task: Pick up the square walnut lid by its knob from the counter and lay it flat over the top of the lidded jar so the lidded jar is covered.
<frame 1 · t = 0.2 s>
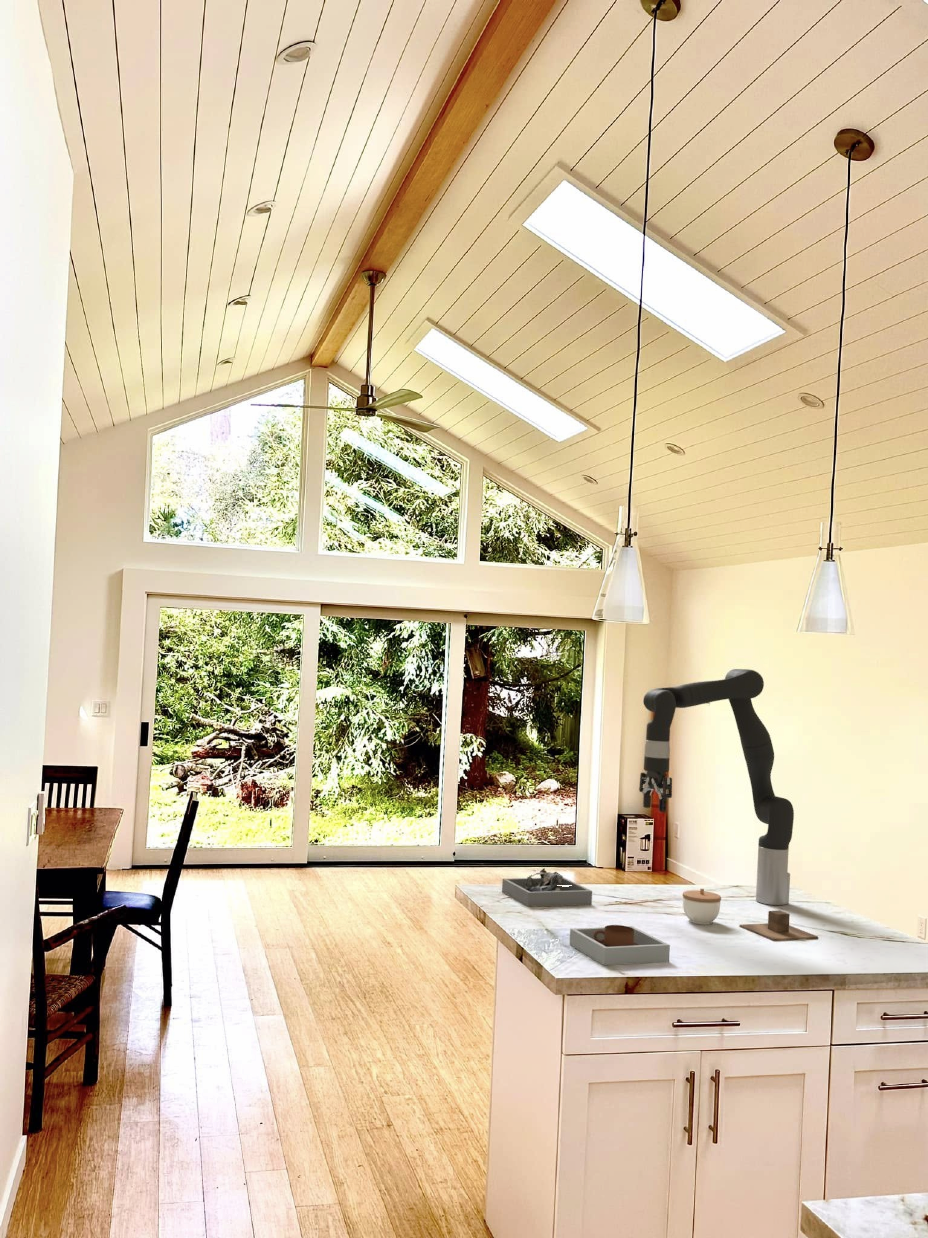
hand: (654, 809, 314), 29 cm above the worktop, tool pointing down, fingers open, 8 cm apart
foil frame: (546, 898, 316), on the worktop
grey square tray: (618, 953, 259), on the worktop
lidded jar: (700, 922, 297), on the worktop
walnut lid: (778, 935, 290), on the worktop
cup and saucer: (618, 954, 259), resting in grey square tray
foil: (544, 899, 316), resting in foil frame
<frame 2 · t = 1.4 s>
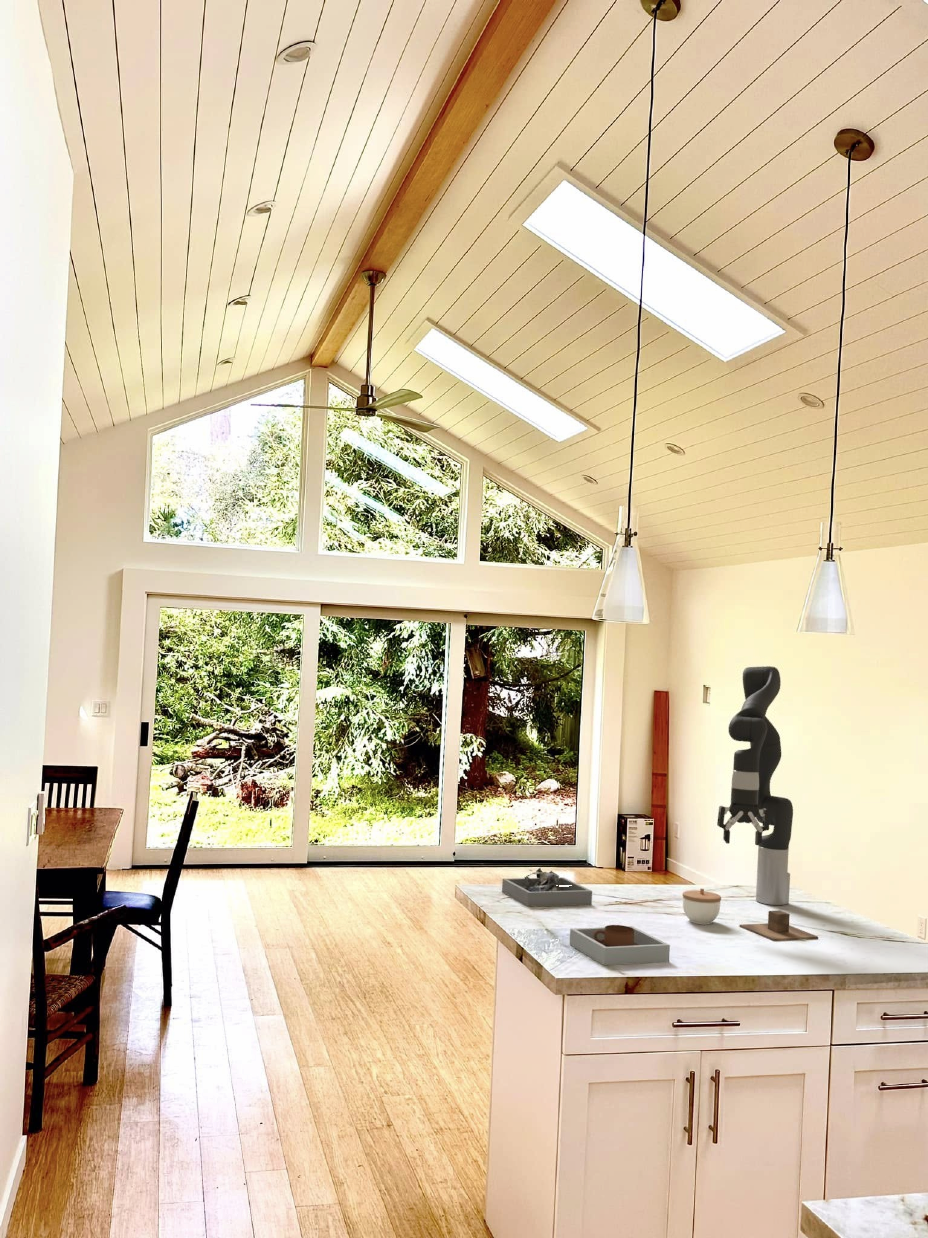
hand: (742, 844, 297), 23 cm above the worktop, tool pointing down, fingers open, 8 cm apart
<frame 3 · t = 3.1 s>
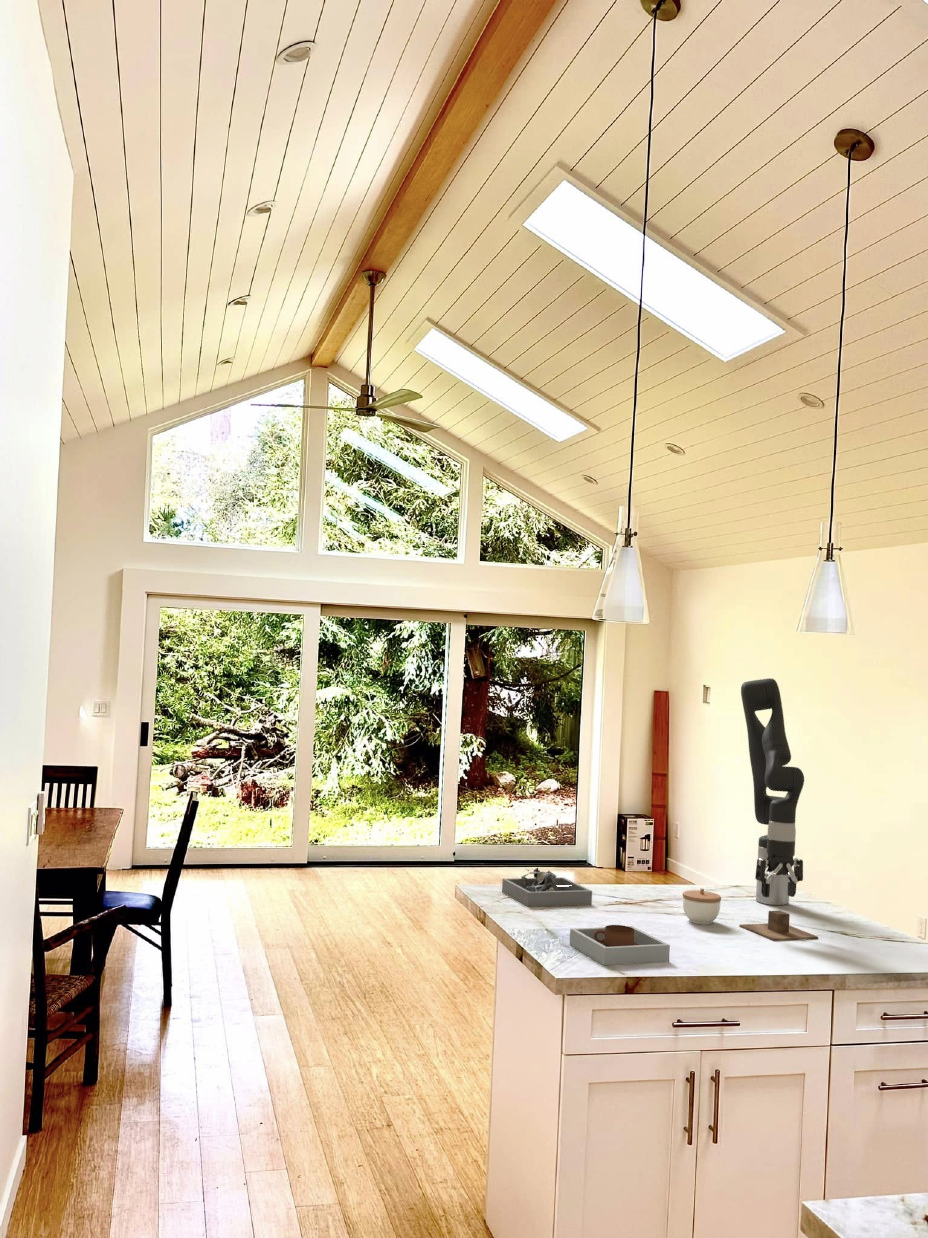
hand: (778, 896, 290), 10 cm above the worktop, tool pointing down, fingers open, 8 cm apart
foil: (538, 898, 317), resting in foil frame
everything else where it was.
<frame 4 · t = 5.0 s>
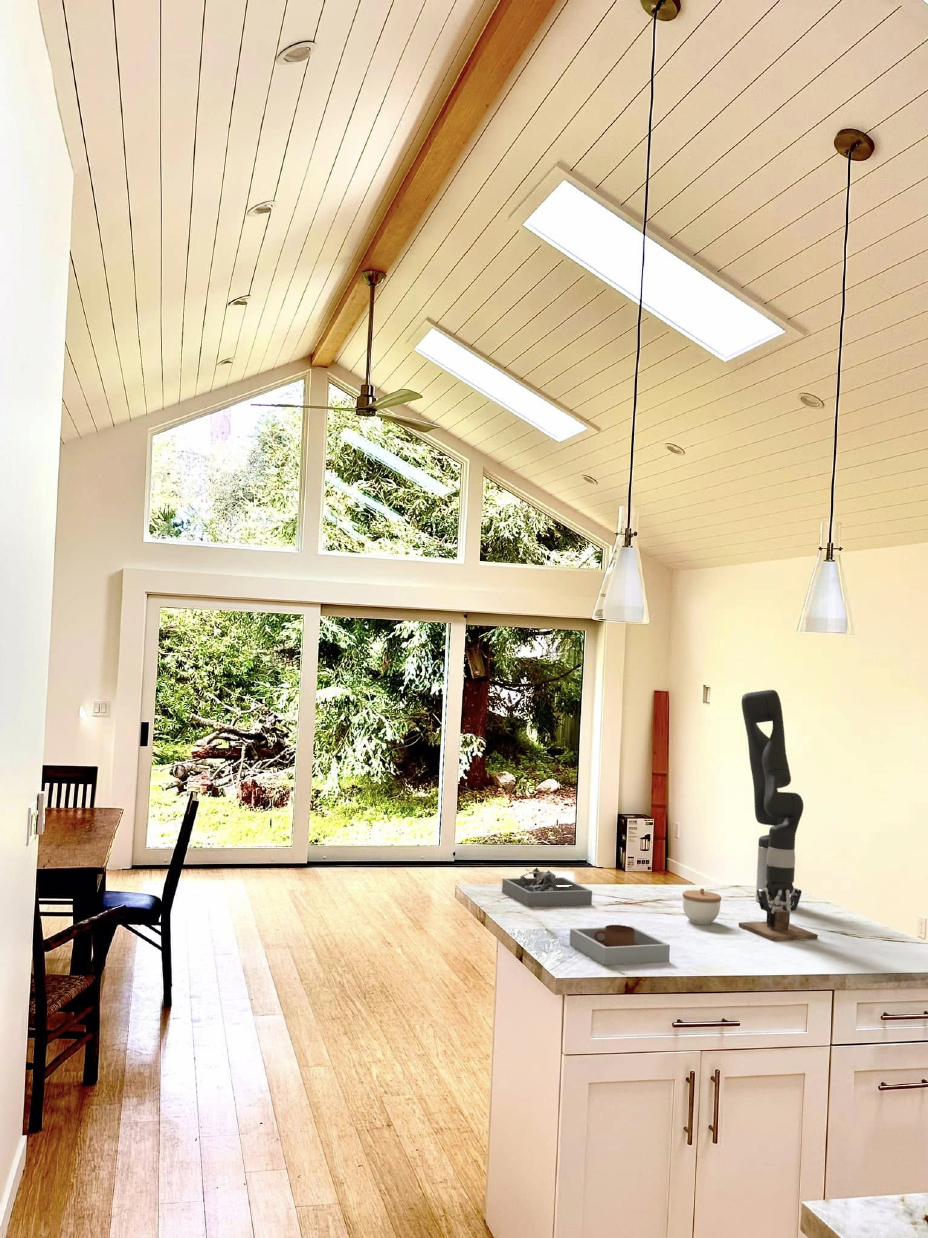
hand: (777, 926, 290), 2 cm above the worktop, tool pointing down, fingers closed on walnut lid, 4 cm apart
walnut lid: (777, 933, 290), on the worktop, touching gripper
foil: (537, 898, 317), resting in foil frame
everything else where it was.
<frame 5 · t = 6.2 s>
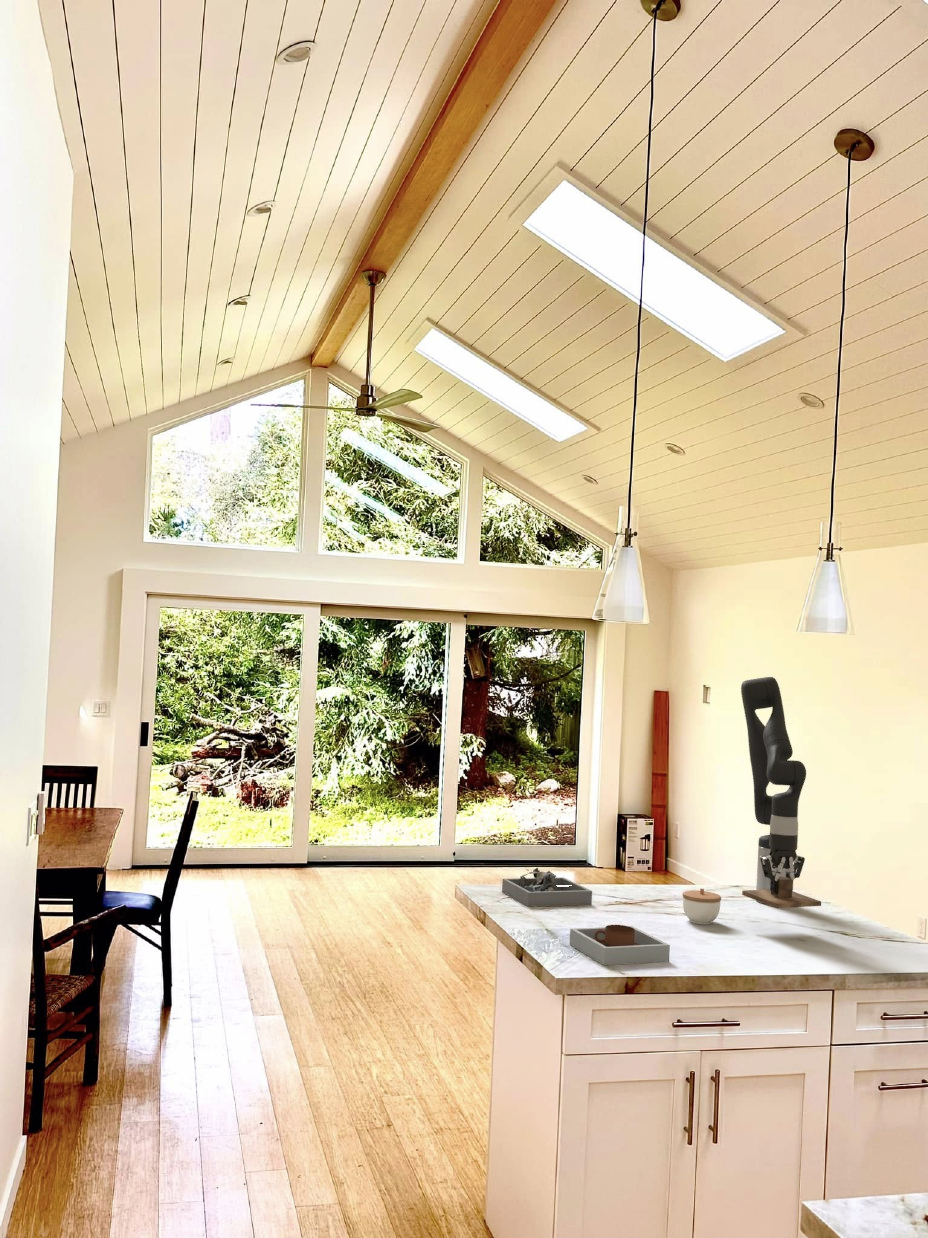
hand: (781, 893, 290), 11 cm above the worktop, tool pointing down, fingers closed on walnut lid, 4 cm apart
walnut lid: (781, 900, 290), point 9 cm above the worktop, touching gripper
everything else where it was.
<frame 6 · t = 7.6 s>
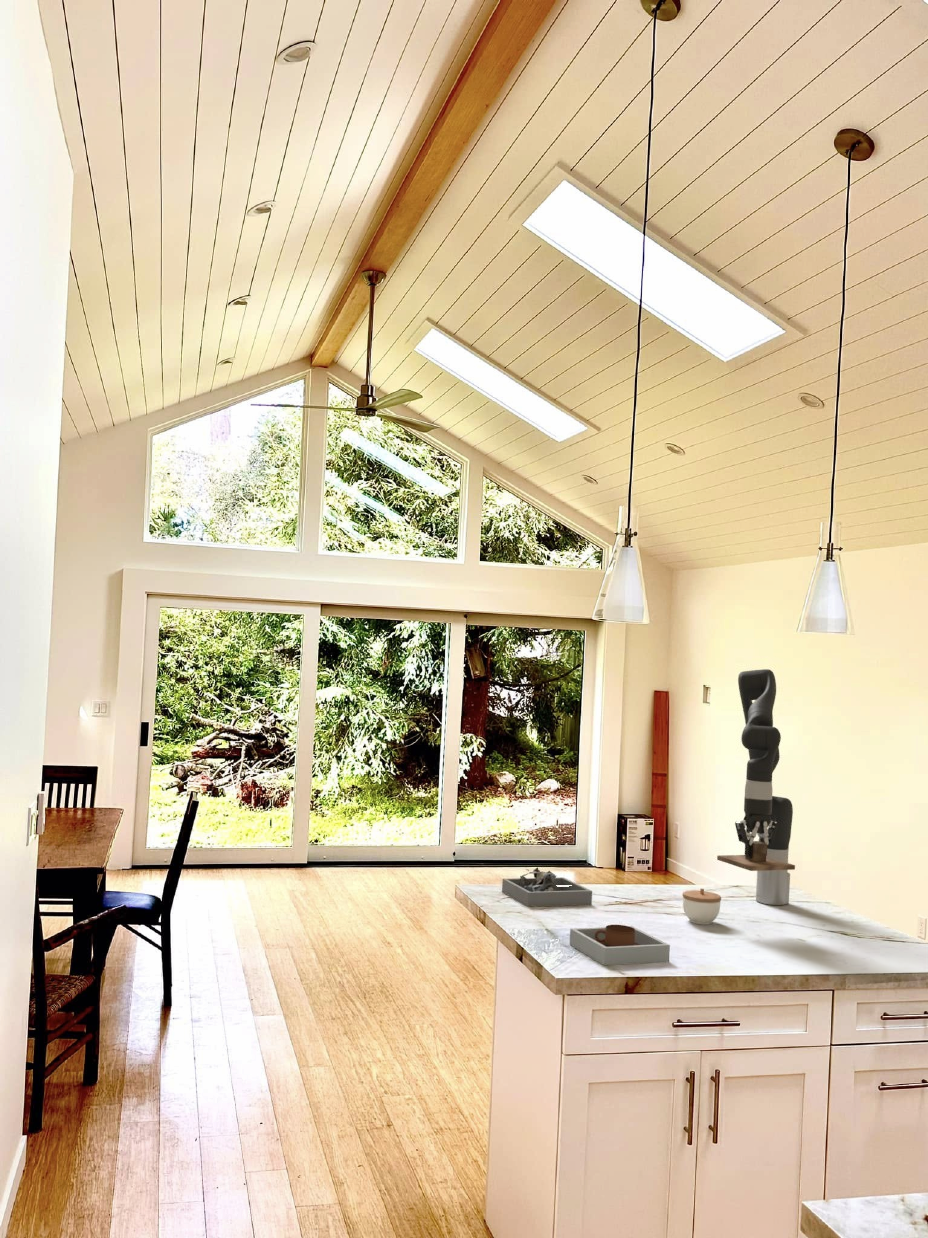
hand: (755, 857, 293), 20 cm above the worktop, tool pointing down, fingers closed on walnut lid, 4 cm apart
walnut lid: (755, 864, 293), point 18 cm above the worktop, touching gripper
everything else where it was.
when the fingers open (13 cm above the worktop, at t = 10.8 s): walnut lid drops 1 cm, resting on lidded jar.
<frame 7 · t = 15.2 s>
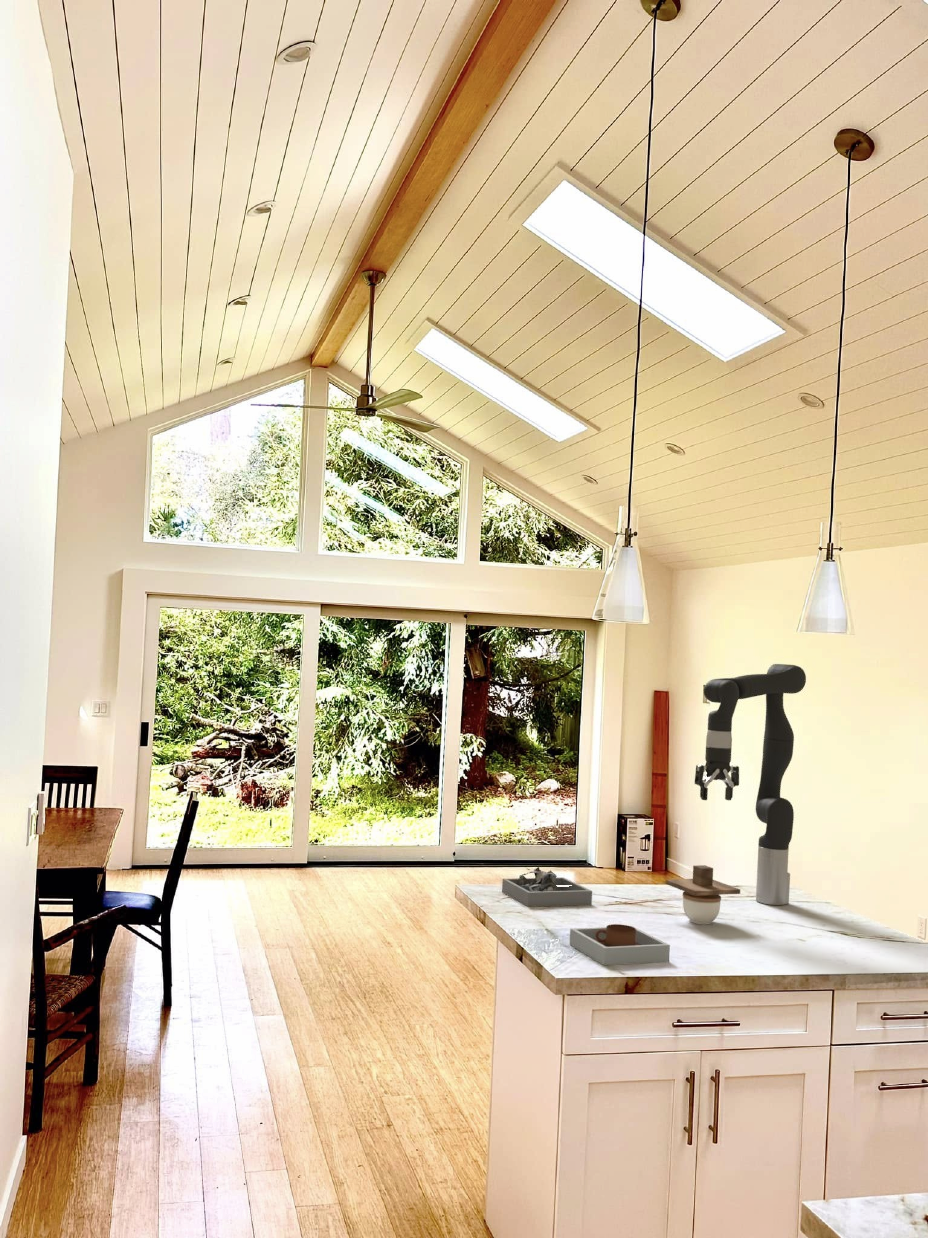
hand: (716, 800, 313), 33 cm above the worktop, tool pointing down, fingers open, 8 cm apart
lidded jar: (700, 922, 297), on the worktop, touching walnut lid
walnut lid: (702, 888, 298), point 9 cm above the worktop, touching lidded jar
foil: (537, 897, 318), resting in foil frame
everything else where it was.
at the end: walnut lid 0.1 cm off-centre on the lidded jar, point 9.6 cm above the lidded jar's base; walnut lid tilted 1°; walnut lid touching lidded jar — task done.
